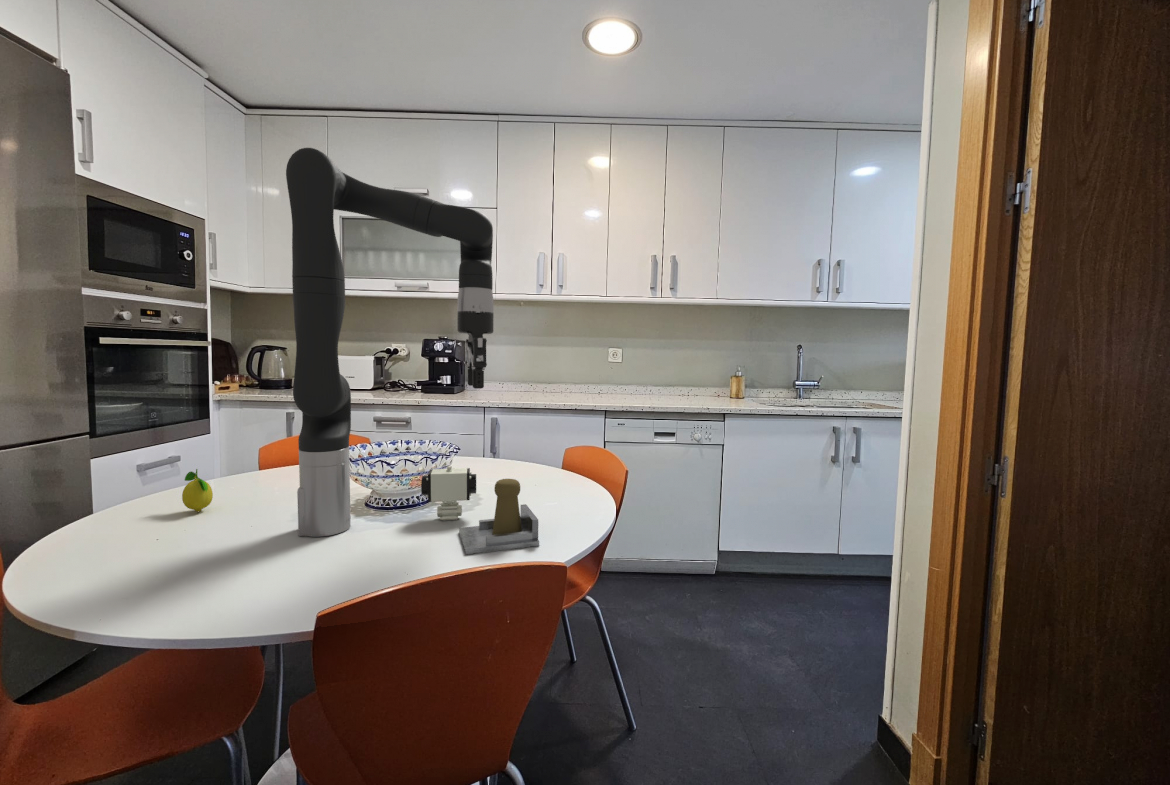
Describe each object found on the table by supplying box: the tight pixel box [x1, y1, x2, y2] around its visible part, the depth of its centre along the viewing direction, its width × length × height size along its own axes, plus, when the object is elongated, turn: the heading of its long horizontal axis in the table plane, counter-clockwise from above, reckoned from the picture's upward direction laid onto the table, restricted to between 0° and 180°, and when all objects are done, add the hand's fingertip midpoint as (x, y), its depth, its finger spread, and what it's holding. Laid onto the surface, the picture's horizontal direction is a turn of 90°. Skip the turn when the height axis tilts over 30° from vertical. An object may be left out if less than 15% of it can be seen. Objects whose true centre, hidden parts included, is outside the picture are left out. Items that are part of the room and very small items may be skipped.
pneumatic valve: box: [420, 465, 477, 522], centre depth 112 cm, size 6×12×12 cm, turn 102°
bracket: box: [458, 503, 540, 555], centre depth 100 cm, size 14×12×5 cm
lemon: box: [181, 468, 214, 512], centre depth 113 cm, size 7×6×10 cm
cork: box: [492, 478, 522, 535], centre depth 100 cm, size 6×6×11 cm
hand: (475, 386), depth 107 cm, fingers open, 8 cm apart
